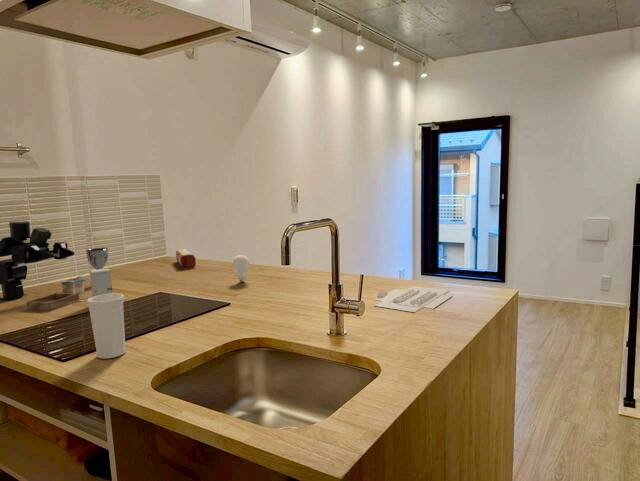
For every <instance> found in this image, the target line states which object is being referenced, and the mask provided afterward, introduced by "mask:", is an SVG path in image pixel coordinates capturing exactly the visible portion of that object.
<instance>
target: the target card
mask: <svg viewBox="0 0 640 481" xmlns="http://www.w3.org/2000/svg"><path fill="white" fill-rule="evenodd" d="M91 297H92V296H91ZM91 297H88V298H85V299H79V300H78V301H77V302H85V301H87V300H88V299H89V298H91Z"/></svg>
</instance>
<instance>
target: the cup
mask: <svg viewBox="0 0 640 481" xmlns="http://www.w3.org/2000/svg"><path fill="white" fill-rule="evenodd" d="M124 296H125V295H124V294H123V293H114V292H113V293H111V294H102V295H97V296H94V297H93V296H91V298H90V297H88V298H89V299H88V300H86V305H87V308H88V309H89V314H90V315H89V316H90V321H91V327H92V333H93V339H94V344H95V349H96V356H97V358H99V359H112V358H113V359H114V358H117V357H120V356H122V355H123V354H125V353H126V336H125V335H126V334H125V320H124V319H125V316H124V315H125V313H124V312H125V311H124V301H125V297H124Z"/></svg>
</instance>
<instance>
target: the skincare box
mask: <svg viewBox="0 0 640 481" xmlns="http://www.w3.org/2000/svg"><path fill="white" fill-rule="evenodd" d="M89 273H90V279H91V284H90V285H91V293H92V294H91V295H92V296H91V297H94V296H97V295H102V294H111V293H114V292H113V285H112V283H113V282H112V272H111V269H110V268H103V269H98V270H96V269H91V270H90V271H89Z"/></svg>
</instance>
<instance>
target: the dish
mask: <svg viewBox="0 0 640 481" xmlns="http://www.w3.org/2000/svg"><path fill="white" fill-rule="evenodd" d="M83 283H84V287H85V286H89V285H91V278H85V281H84V282H83Z"/></svg>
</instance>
